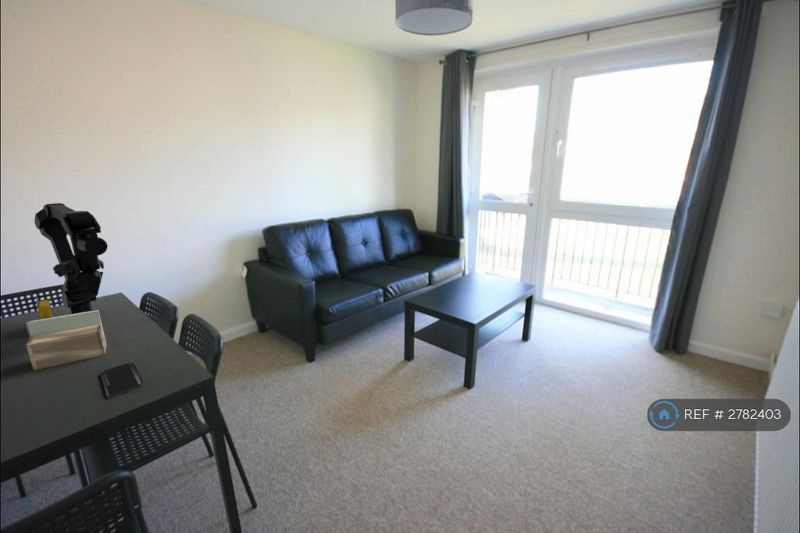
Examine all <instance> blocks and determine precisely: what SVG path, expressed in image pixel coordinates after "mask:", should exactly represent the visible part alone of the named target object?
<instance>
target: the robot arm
mask: <svg viewBox="0 0 800 533" xmlns="http://www.w3.org/2000/svg"><path fill="white" fill-rule="evenodd" d="M34 225H35V228H36V229H37V230H39V233H40V235H41V236H43V237H44V238H46V239H47V240H48V241H49V242H50V244H51V246H52V248H53V251H54V253H55V256H56V259H57V261H58V264H55V265H54V266H53V267H52V270H53V271H54V273H53V274H55V275H57V277H59V278H61V277H64V279H65V280H64V282H63V285H62V293H61V294H62V295H61V299H60V300H61V303H62V305H63V306H64V307H66V308H70V315H71V314H77V313H83V312H89V311H94V309H93V307H92V302H96V301H97V296H98V295H99V291H100V287H101V282H102V278H103V275H104V271H99V270H100V269H101V270H102V269H104V268H105V265H104V261H102V260H101V259H99V256H101V255H103V254H104V253H106V251H107V250H108V243H107V242H106V240H105V239H104V238H101V237H99V236H98V234H101V233H102V230H101V228H102V227H101V225H100V224H99V222H98V221H97V218H96V217H95V216H94V215H93V214H92V213H90V211H87V210H74V209H73V208H70V207H69V206H66V204H65V203H61V202H56V203H54V202H53V203H46V204H44V205H43V208H42V209H41V210H39V211H38V212H36V213H35V215H34ZM67 236H69V238H70V242H69V239H68V237H67ZM70 243H71V245H70ZM71 246H72V247H71Z"/></svg>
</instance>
